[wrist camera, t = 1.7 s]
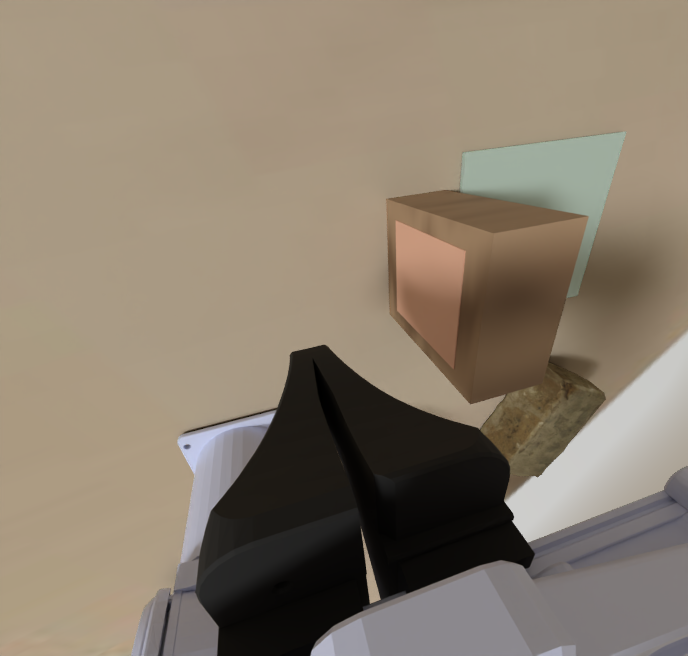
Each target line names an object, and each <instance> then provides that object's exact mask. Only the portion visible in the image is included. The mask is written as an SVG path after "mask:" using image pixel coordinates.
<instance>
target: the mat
mask: <svg viewBox="0 0 688 656" xmlns="http://www.w3.org/2000/svg"><path fill="white" fill-rule="evenodd" d="M625 135H626V132H617V133H609V134H601V135H594V136H586V137H578V138H571V139H563V140H555V141H547V142H540V143H532V144H524V145H516V146H509V147H501V148H493V149H485V150H478V151H470V152H463V156H462V169H461V181H460V193H464V194H470V195H475V196H481V197H486V198H492V199H498V200H503V201H509V202H514V203H520V204H525V205H531V206H536V207H542V208H547V209H553V210H558V211H564V212H569V213H575V214H580V215H586V216H589V218H588V221H587V225H586V229H585V232H584V236H583V239H582V243H581V247H580V250H579V254H578V257H577V261H576V265H575V268H574V272H573V275H572V279H571V283H570V286H569V290H568V293H567V297H566V298H569V297H573V296H578V292H579V289H580V286H581V282H582V279H583V275H584V272H585V269H586V265H587V262H588V259H589V255H590V252H591V249H592V245H593V242H594V239H595V235H596V232H597V229H598V225H599V222H600V218H601V215H602V212H603V208H604V205H605V202H606V198H607V195H608V192H609V188H610V185H611V182H612V178H613V175H614V171H615V168H616V165H617V161H618V158H619V155H620V151H621V148H622V145H623V141H624V138H625Z"/></svg>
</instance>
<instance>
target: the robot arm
mask: <svg viewBox="0 0 688 656" xmlns="http://www.w3.org/2000/svg"><path fill="white" fill-rule="evenodd" d="M333 441H334V442H333ZM177 442H178V445H179V447H180V449H181V451H182V452H183V454H184V456H185V458H186V460H187V462H188V464H189V466H190V467H191V469H192V471H193V473H194V482H193V488H192V494H191V500H190V506H189V512H188V519H187V525H186V531H185V537H184V543H183V549H182V556H181V562H180V564H179V565H178V568H177V574H176V580H175V586H174V592H173V595H170V590H171V588H165V589H160V590H159V591H158V592H157V593H156V596H155V597H154V598H152V599H151V601H150V602H149V603H148V604H147V605H146V606H145V607H144V609H143V612H142V615H141V619H140V622H139V626H138V630H137V633H136V637H135V641H134V646H133V650H132V654H131V656H688V466H686V467H684V468H682V469H680V470H678V471H677V472H676V473H674V474H673V475H672V476H671V477H670V478H669V480H668V481H667V483H666V485H665V487H664V490H663V491H660V492H658V493H655V494H653V495H650V496H648V497H645V498H642V499H640V500H637V501H635V502H632V503H629V504H627V505H624V506H622V507H620V508H617V509H614V510H611V511H609V512H606V513H604V514H601V515H598V516H596V517H593V518H591V519H588V520H586V521H583V522H580V523H578V524H575V525H573V526H570V527H568V528H565V529H562V530H560V531H557V532H555V533H552V534H549V535H547V536H544V537H542V538H539V539H537V540H534V541H531V542H529V543H527V541H526V540H525V539H524V537H523V536H522V535H521V533H520V532H519V530H518V529H517V528H516V526H515V525H514V523H513V522H512V520H513V519H514V516H513V513H512V512H511V510H510V509H509V507H508V506H507V505H506V503H505V502H504V497H505V494H506V490H507V486H508V482H509V478H510V465H509V462H508V460H507V459H506V458H505V457H504V455H503V454H502V453H501V452H500V451H499V449H498V448H497V447H496V446H495V445H494V444H493V443H492V442H491V441H490V440H489V439H488V438H487V437H486V436H485V435H484V434H483V433H482V432H481V431H480V430H479V429H478V428H476V427H472V426H469V425H465V424H461V423H458V422H454V421H451V420H447V419H444V418H441V417H438V416H435V415H433V414H430V413H427V412H424V411H422V410H419V409H417V408H415V407H412V406H410V405H408V404H406V403H404V402H402V401H399V400H397V399H395V398H393V397H392V396H390V395H388V394H386V393H385V392H383V391H381V390H380V389H378V388H376V387H375V386H373V385H372V384H371V383H369V382H368V381H366V380H365V379H363V378H362V377H361V376H359V375H358V374H357V373H356V372H354V371H353V370H352V369H351V368H350V367H348V366H347V365H346V364H345V363H344V362H343V361H342V360H340V359H339V358H338V357H337V356H336V355H335V354H334V353H333V352H332V351H331V350H330V349H329V347H328V346H326V345H321V346H317V347H312V348H308V349H303V350H299V351H295V352H292V353H291V354H290V365H289V371H288V376H287V380H286V384H285V387H284V391H283V394H282V397H281V399H280V402H279V405H278V408H277V410H274V411H270V412H266V413H262V414H258V415H255V416H251V417H247V418H243V419H239V420H235V421H232V422H228V423H224V424H220V425H216V426H212V427H208V428H205V429H201V430H197V431H193V432H189V433H185V434H182V435H180V436H179V438H178V441H177ZM186 444H189V445H186ZM335 446H336V447H335ZM336 449H337V450H336ZM337 452H338V453H337ZM338 454H339V455H338ZM339 457H340V458H339ZM340 459H341V460H340ZM341 462H342V463H341ZM342 464H343V465H342ZM343 467H344V468H343ZM344 470H345V471H344ZM360 525H361V526H360ZM361 529H362V532H363V536H364V539H365V543H366V547H367V550H368V554H369V558H370V561H371V565H372V569H373V572H374V576H375V580H376V583H377V587H378V591H379V594H380V598H381V600H379V601H377V602H374V603H371V604H370V601H369V594H368V586H367V579H366V574H367V571H366V564H365V556H364V549H363V541H362V534H361Z"/></svg>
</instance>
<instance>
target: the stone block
mask: <svg viewBox="0 0 688 656" xmlns="http://www.w3.org/2000/svg"><path fill="white" fill-rule="evenodd" d="M605 400H606V398H605V394H604V392H602V391H601V390H599V388H597V387H596V386H595V385H593V384H592V383H591V382H590V381H588V380H586V379H584V378H582V377H580V376H578V375H577V374H575V373H572V372H570V371H568V370H566V369H564V368H561V367H559V366H557V365H554V364H552V363H549V362H548V365H547V369H546V372H545V376H544V379H543V383H542V384H539V385H536V386H532V387H529V388H525V389H522V390H518V391H515V392H511V393H508V394H506V396H505V398H504V399H503V401H502V402H500V403H499V404H498V405H497V407H496V409H495V411H494V412H493V413H492V414H491V416H490V417H489V418H488V420H487V421H486V422H485V423H484V424H483V426H482V428H481V430H480V431H481V432H482V433H483V434H484V435H485V436H486V437H487V438H488V439H489V440H490V441H491V442H492V443H493V444H494V445H495V446H496V447H497V448H498V449H499V451H500V452H501V453H502V454H503V455H504V457H505V458H506V459H507V460H508V462H509V465H510V474H512V475H517V476H536V477H539V476H540V475H542V473H543V472H544V470H545V469H546V468H547V467H548V466H549V465H550V464H551V463H552V462H553V461H554V460H555V459H556V458H557V457H558V456H559V455H560V454H561V453H562V452H563V451H564V450H565V448H566V447H567V445H568V444H569V442H570V441H571V440H572V439H573V438H574V437H575V436H576V434H577V433H578V432H579V431H580V429H581V428H582V427H583V426H584V425H585V424H586V422H587V421H588V420H589V419H590V417H591V416H592V415H593V414H594V413H595V412H596V410H597V409H598V408H599V407H600V406H601V404H602V403H603V402H604V401H605Z"/></svg>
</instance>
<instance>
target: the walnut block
mask: <svg viewBox="0 0 688 656" xmlns="http://www.w3.org/2000/svg"><path fill="white" fill-rule="evenodd" d="M386 203H387V237H388V271H389V305H390V315H391V316H392V317H393V318H394V319H395V320H396V322H397V323H398V324H399V325H400V326H401V327H402V328H403V329H404V331H405V332H406V333H407V334H408V335H409V336H410V337H411V338H412V339H413V341H414V342H415V343H416V344H417V345H418V346H419V347H420V348H421V350H422V351H423V352H424V353H425V354H426V355H427V356H428V357H429V359H430V360H431V361H432V362H433V363H434V364H435V365H436V366H437V367H438V369H439V370H440V371H441V372H442V373H443V374H444V375H445V376H446V378H447V379H448V380H449V381H450V382H451V383H452V384H453V385H454V387H455V388H456V389H457V390H458V391H459V392H460V393H461V394H462V395H463V397H464V398H465V399H466V400H467V401H468V402H469V403H470V404H473V403H477V402H480V401H484V400H487V399H491V398H494V397H498V396H501V395H504V394H508V393H511V392H515V391H518V390H522V389H525V388H529V387H532V386H536V385H539V384H542V383H543V379H544V376H545V372H546V369H547V365H548V362H549V358H550V354H551V351H552V347H553V344H554V340H555V336H556V333H557V329H558V326H559V322H560V318H561V315H562V311H563V308H564V304H565V300H566V297H567V293H568V290H569V286H570V283H571V279H572V275H573V272H574V268H575V265H576V261H577V257H578V254H579V250H580V247H581V243H582V239H583V236H584V232H585V229H586V225H587V221H588V218H589V216H586V215H580V214H575V213H569V212H564V211H558V210H553V209H547V208H542V207H536V206H531V205H525V204H520V203H514V202H509V201H503V200H498V199H492V198H486V197H481V196H475V195H470V194H464V193H459V192H453V191H448V190H442V191H436V192H429V193H423V194H416V195H409V196H403V197H396V198H389V199H386Z"/></svg>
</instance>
